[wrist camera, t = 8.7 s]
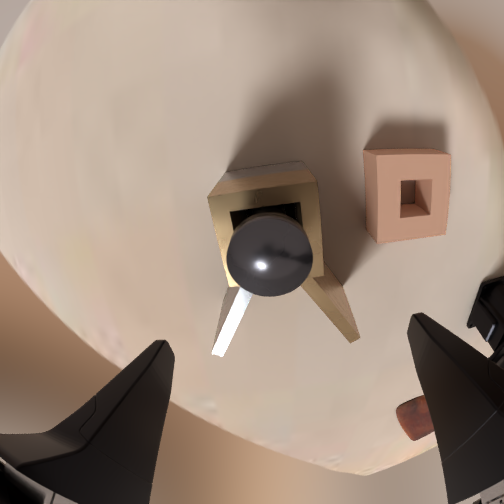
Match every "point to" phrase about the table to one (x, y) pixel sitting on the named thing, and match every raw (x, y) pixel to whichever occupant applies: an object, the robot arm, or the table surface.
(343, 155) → the table surface
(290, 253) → the hinge pin
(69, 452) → the robot arm
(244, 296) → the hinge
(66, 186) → the table surface
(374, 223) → the pin holder
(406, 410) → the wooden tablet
